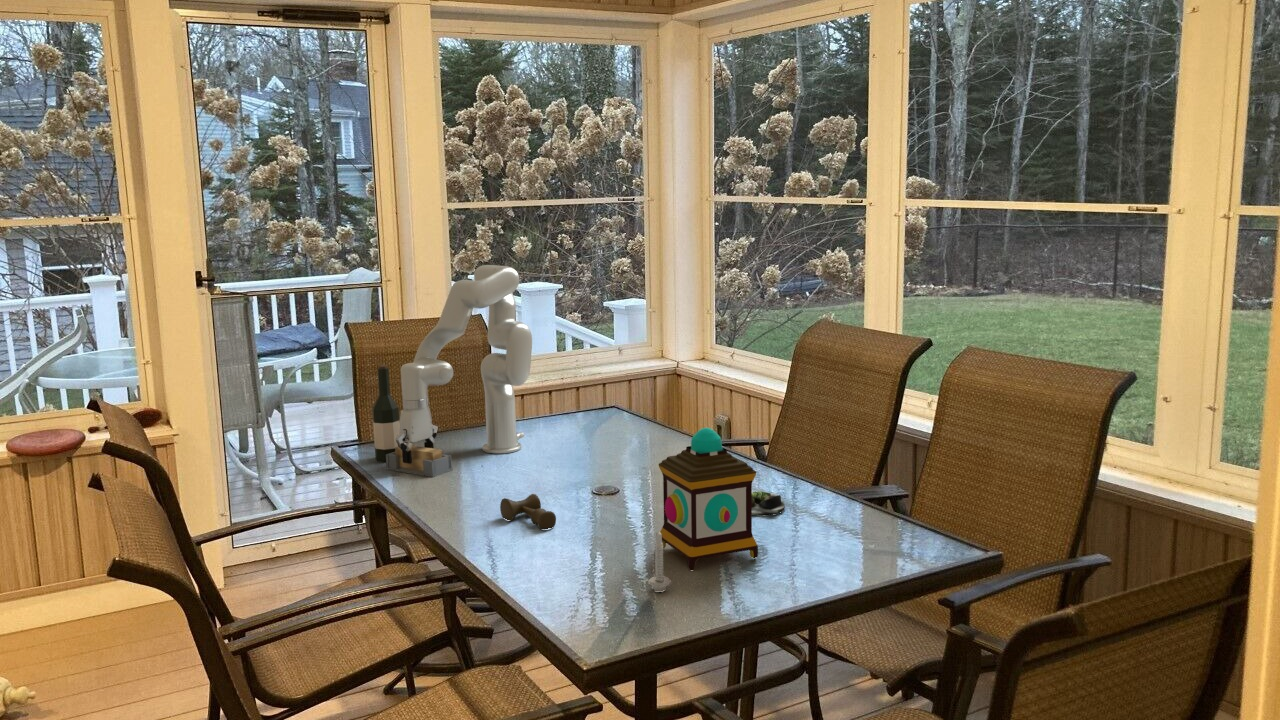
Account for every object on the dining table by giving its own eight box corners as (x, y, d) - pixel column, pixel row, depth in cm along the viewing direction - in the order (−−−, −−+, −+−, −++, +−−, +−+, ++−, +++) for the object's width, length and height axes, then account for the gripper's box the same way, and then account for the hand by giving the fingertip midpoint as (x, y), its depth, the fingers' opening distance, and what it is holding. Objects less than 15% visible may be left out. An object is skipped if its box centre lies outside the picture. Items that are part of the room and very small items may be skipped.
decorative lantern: (687, 575, 226) (685, 442, 221) (650, 547, 244) (648, 423, 239) (766, 561, 234) (767, 431, 229) (725, 534, 252) (724, 414, 247)
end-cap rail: (386, 469, 316) (385, 454, 316) (405, 462, 324) (404, 448, 323) (433, 477, 307) (432, 462, 306) (452, 470, 314) (451, 455, 313)
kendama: (531, 536, 255) (492, 514, 271) (564, 529, 261) (524, 508, 276) (532, 513, 254) (492, 492, 270) (565, 506, 260) (524, 486, 275)
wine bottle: (398, 462, 324) (392, 368, 319) (371, 462, 324) (365, 368, 319) (404, 455, 332) (399, 363, 327) (379, 455, 333) (373, 363, 327)
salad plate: (712, 520, 264) (712, 502, 263) (708, 498, 282) (708, 482, 281) (788, 519, 264) (788, 501, 263) (779, 498, 281) (780, 481, 281)
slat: (396, 466, 317) (395, 447, 316) (405, 463, 321) (404, 444, 320) (433, 472, 310) (432, 452, 309) (442, 469, 313) (441, 449, 312)
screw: (666, 596, 215) (645, 593, 217) (674, 587, 220) (653, 585, 221) (665, 536, 213) (643, 534, 215) (673, 529, 217) (651, 526, 219)
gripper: (425, 397, 321) (428, 451, 324) (385, 408, 306) (389, 464, 309) (444, 399, 317) (447, 454, 320) (404, 410, 303) (407, 467, 305)
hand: (418, 459), depth 315 cm, fingers open, 9 cm apart
